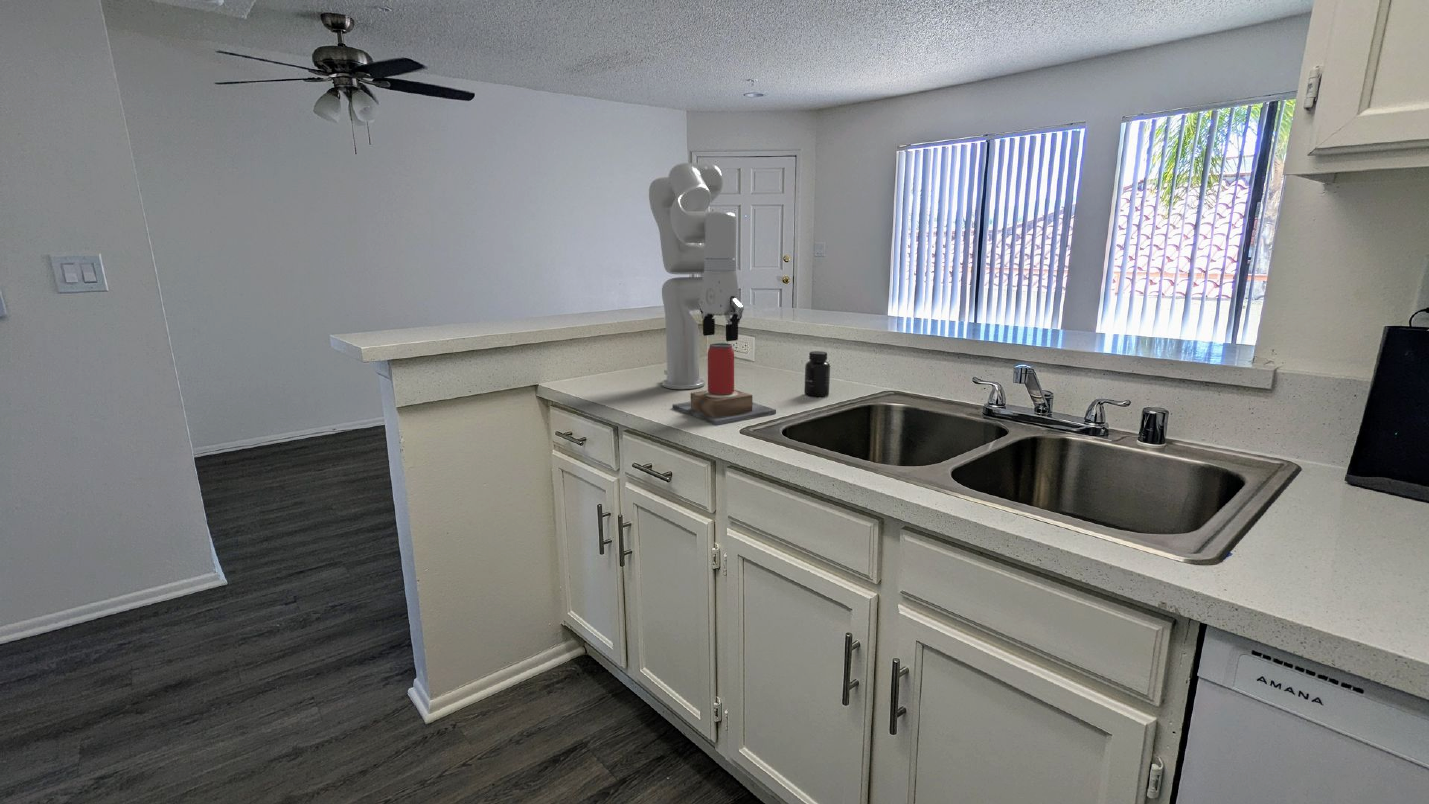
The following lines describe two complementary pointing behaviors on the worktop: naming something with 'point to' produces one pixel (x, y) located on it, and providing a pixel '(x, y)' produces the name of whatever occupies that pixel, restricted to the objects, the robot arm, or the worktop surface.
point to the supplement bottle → (817, 375)
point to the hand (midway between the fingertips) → (720, 337)
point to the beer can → (720, 369)
